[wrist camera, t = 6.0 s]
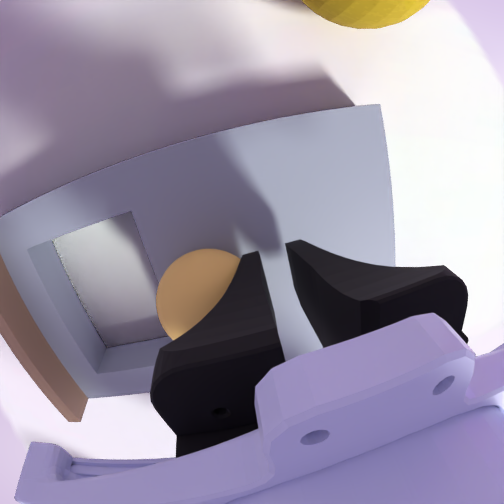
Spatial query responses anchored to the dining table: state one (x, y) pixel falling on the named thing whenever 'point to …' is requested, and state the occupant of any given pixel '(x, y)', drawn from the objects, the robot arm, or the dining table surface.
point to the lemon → (365, 11)
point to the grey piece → (196, 235)
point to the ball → (193, 288)
